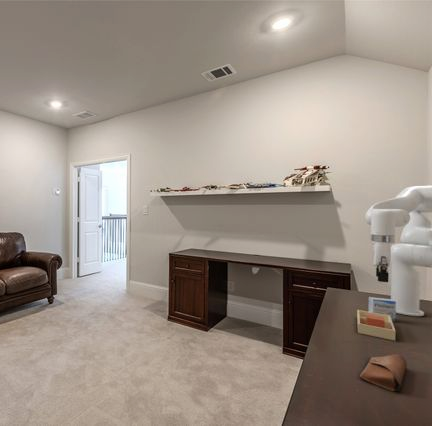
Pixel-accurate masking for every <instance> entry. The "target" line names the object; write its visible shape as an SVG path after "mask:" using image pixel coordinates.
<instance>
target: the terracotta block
mask: <svg viewBox="0 0 432 426" xmlns="http://www.w3.org/2000/svg"><path fill="white" fill-rule="evenodd" d="M366 325H370V326H375V327H380V328H384V326H385V320H384V317H380V316H374V315H369V314H367V316H366Z"/></svg>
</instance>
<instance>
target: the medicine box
mask: <svg viewBox="0 0 432 426" xmlns="http://www.w3.org/2000/svg"><path fill="white" fill-rule="evenodd" d="M368 312H373V313H378V314H384V315H390V317H391V320H392V322H394V323H395V322H396V319H397V318H396V315H397V313H396V302H395V301H394V300H392V299H391V298H384V297H383V298H382V297H373V296H369V297H368Z"/></svg>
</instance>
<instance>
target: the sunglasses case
mask: <svg viewBox="0 0 432 426" xmlns="http://www.w3.org/2000/svg"><path fill="white" fill-rule="evenodd" d="M407 363H408V362H407V360H406V359H405V357H404V356H402V355H401V354H391V355H384V356H373V357H370V358H369V360H368V363H367V365H366V366H365V367H364V369H363V371H362V372H361V373H360V374H359V378H361V379H362V380H364V381H366V382H369V383H370V384H373V385H375V386H378V387H380V388H383V389H386V390H388V391H391V392H397V391H399V390H401V386H402V384H403V381H404V376H405V372H406V370H407Z"/></svg>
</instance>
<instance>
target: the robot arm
mask: <svg viewBox="0 0 432 426" xmlns="http://www.w3.org/2000/svg"><path fill="white" fill-rule="evenodd" d="M422 213H432V185H412V186H407V187H405V188H404V189H402V190H401V191H400V192H399V193H398V194H397V195H396V196H395V197H393V198H389V199H385V200H383V201H379V202H376V203H375V204H373V205H371V206H370V207H369V209H368V210H367V211H366V213H365V215H364V220H365V222H366V224H368V225H370V243H373V247H372V248H373V251H372V264H373V266H374V267H375V276H376V278H377V281H378V282H380V283H389V268H391V273H390V274H391V275H390V277H391V278H390V299H392V300H394V301H395V302H396V314H399V315H403V316H409V317H423V316H425V312H424V311H423V310H421V309H420V297H421V275H420V273H419V271H418V270H417V268H416V267H424V268H432V221H431V220H430V219H429V218H428V217H427V216H425V215H424V214H422ZM396 227H397V228H400V227H403V229H402V231H401V234H400V237H399V241H400V243H396ZM390 266H391V267H390Z"/></svg>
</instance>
